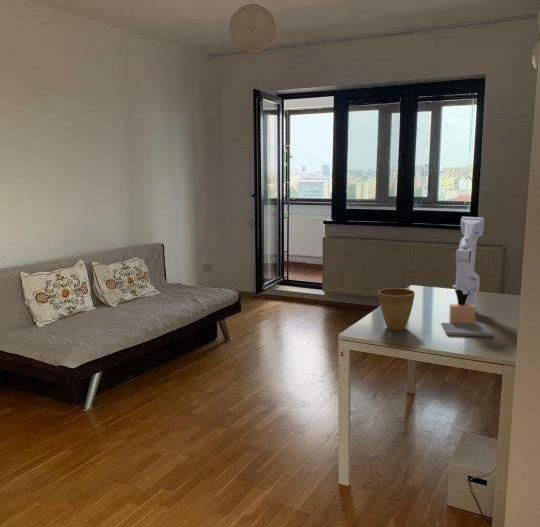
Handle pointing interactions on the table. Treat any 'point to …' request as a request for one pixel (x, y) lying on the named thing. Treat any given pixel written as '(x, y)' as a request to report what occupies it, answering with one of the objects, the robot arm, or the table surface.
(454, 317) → the terracotta block
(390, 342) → the table surface
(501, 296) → the table surface
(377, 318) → the table surface
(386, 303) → the plant pot
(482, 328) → the mat
